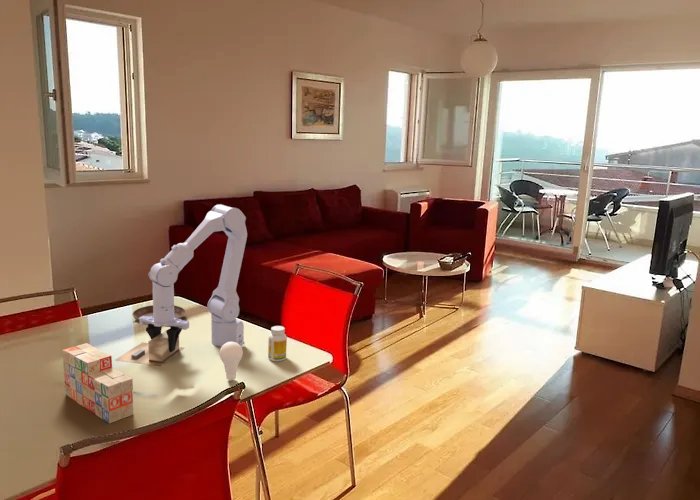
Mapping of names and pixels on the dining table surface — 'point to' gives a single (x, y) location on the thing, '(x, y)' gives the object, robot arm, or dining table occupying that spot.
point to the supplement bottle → (277, 344)
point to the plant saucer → (148, 311)
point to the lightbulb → (231, 358)
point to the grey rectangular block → (138, 354)
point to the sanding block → (161, 348)
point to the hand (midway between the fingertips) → (164, 349)
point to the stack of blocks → (97, 383)
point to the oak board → (145, 357)
